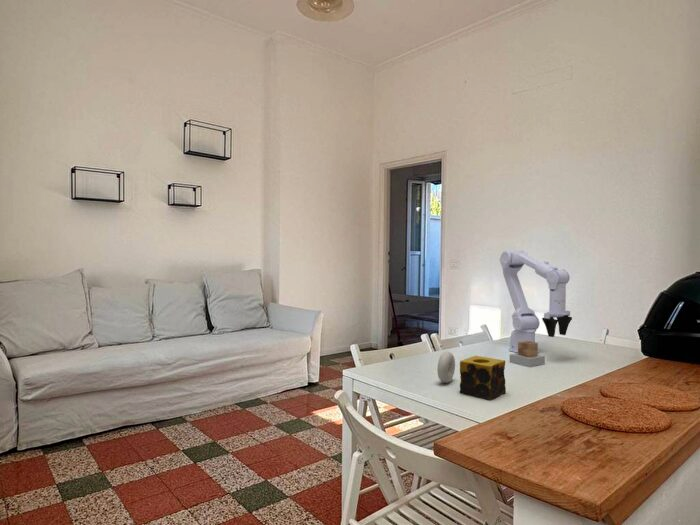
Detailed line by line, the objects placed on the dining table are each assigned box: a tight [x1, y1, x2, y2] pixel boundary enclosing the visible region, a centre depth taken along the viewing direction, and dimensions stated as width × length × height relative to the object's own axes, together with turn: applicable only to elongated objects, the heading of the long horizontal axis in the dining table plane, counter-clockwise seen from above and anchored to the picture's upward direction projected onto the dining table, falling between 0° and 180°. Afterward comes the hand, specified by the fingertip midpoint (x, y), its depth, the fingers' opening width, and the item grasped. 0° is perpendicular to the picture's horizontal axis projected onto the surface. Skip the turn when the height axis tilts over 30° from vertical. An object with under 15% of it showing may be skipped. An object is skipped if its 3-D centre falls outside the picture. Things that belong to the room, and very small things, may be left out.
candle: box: [459, 355, 507, 401], centre depth 137 cm, size 10×10×10 cm
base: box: [509, 352, 546, 368], centre depth 174 cm, size 9×9×3 cm
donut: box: [436, 351, 456, 384], centre depth 148 cm, size 10×4×10 cm, turn 148°
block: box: [518, 341, 539, 358], centre depth 174 cm, size 5×5×5 cm
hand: (556, 335), depth 178 cm, fingers open, 7 cm apart
